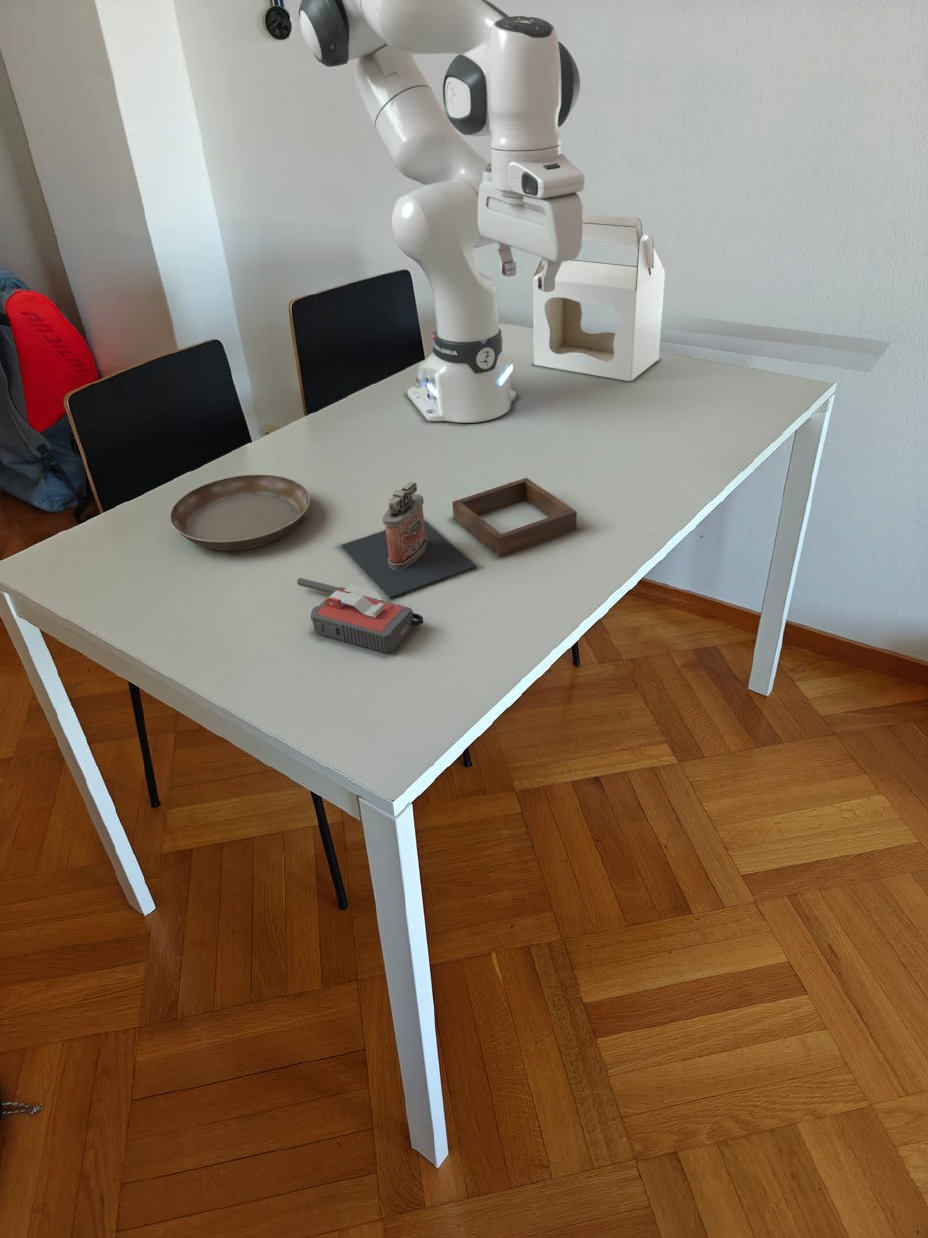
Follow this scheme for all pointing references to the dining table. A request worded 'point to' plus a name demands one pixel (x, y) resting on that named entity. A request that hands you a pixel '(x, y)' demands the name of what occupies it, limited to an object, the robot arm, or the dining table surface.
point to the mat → (424, 571)
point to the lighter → (405, 527)
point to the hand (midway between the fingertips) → (526, 282)
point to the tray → (520, 538)
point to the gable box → (602, 285)
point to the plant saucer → (240, 511)
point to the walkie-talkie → (361, 617)
